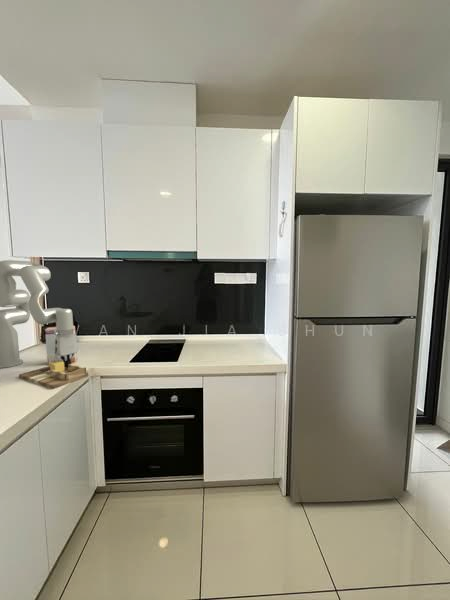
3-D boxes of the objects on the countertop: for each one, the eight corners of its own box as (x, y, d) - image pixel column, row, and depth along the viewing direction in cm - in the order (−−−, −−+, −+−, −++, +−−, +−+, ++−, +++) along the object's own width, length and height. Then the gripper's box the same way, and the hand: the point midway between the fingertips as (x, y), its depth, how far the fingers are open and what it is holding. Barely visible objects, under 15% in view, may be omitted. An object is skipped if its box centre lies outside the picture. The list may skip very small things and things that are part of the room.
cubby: (50, 375, 130) (49, 370, 130) (70, 369, 139) (70, 363, 139) (66, 380, 124) (66, 374, 124) (86, 373, 133) (86, 367, 133)
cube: (50, 372, 135) (49, 363, 135) (59, 369, 139) (59, 361, 139) (55, 373, 133) (54, 364, 133) (64, 370, 137) (64, 362, 137)
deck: (19, 377, 132) (18, 374, 132) (54, 367, 147) (54, 364, 147) (53, 388, 119) (53, 385, 119) (88, 376, 134) (88, 373, 134)
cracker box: (77, 359, 160) (75, 325, 159) (75, 362, 155) (73, 327, 153) (50, 362, 156) (48, 326, 154) (47, 365, 150) (44, 328, 148)
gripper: (54, 336, 131) (57, 372, 132) (83, 330, 144) (85, 363, 145) (45, 334, 134) (48, 370, 136) (74, 329, 147) (76, 361, 149)
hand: (67, 367), depth 141 cm, fingers closed
